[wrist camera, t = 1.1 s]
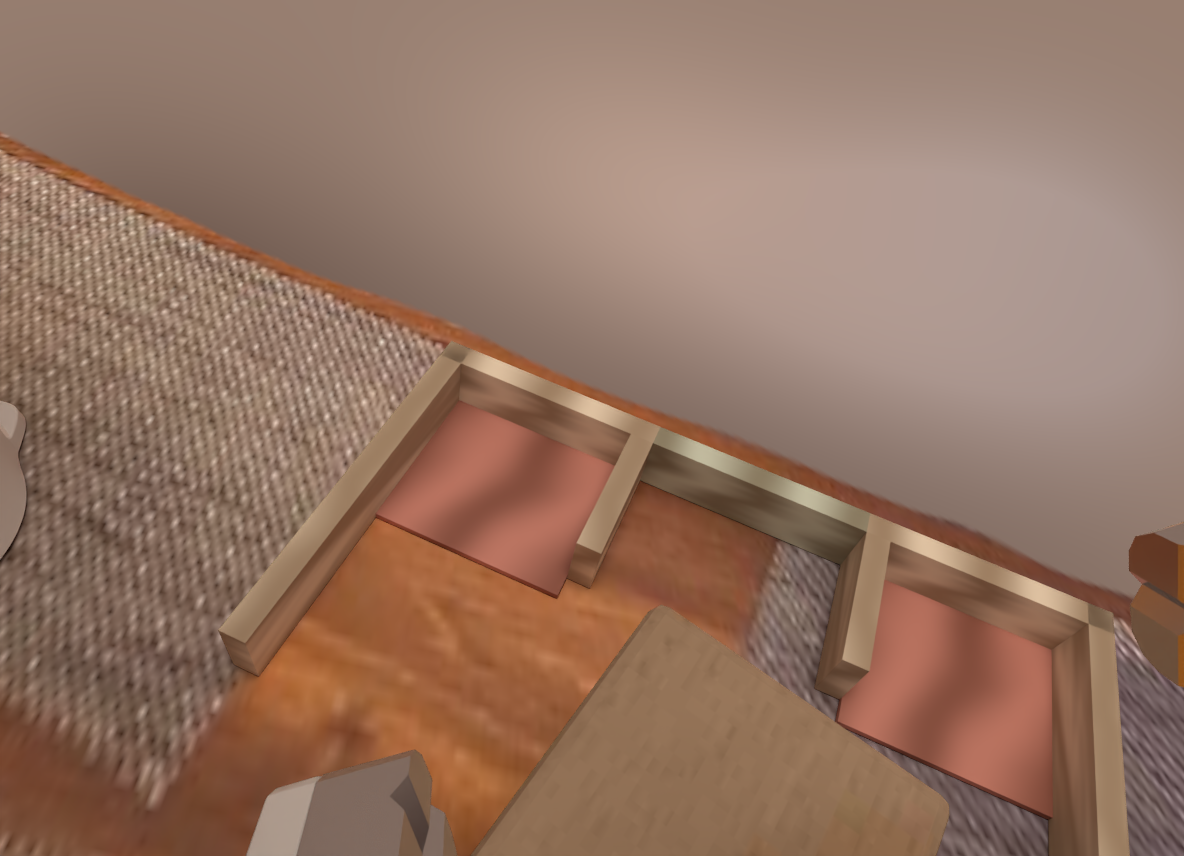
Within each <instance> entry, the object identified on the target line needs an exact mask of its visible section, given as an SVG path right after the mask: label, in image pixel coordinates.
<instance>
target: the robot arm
mask: <svg viewBox="0 0 1184 856" xmlns="http://www.w3.org/2000/svg"><path fill="white" fill-rule="evenodd" d="M25 428H26V420H25V418H24V416H23V415H22V414H21V412H20V411H19V410H18V409H17V408H16V407H15V406H14V405H12V404H10V403H7V402H4V401H0V559H1V558H2V556H3V555H4V554H5V552H6V551H7V549H8V548H9V546H10V545H11V543H12V541H13V540H14V538H15V536H16V534H17V532H18V529H19V527H20V525H21V522H22V519H23V516H24V512H25V507H26V484H25V479H24V476H23V473H22V470H21V467H20V463H19V458H18V451H19V449H20V446H21V443H22V440H23V436H24V433H25ZM1129 571H1130V572H1131V573H1132V574H1133V575H1134V576H1135V577H1136V578H1137V579H1138V580H1139V581H1140V582H1141V583H1142V585H1141V587H1140V589H1139V590H1138V592H1137V594H1136V596H1135V597H1134V599H1133V601H1132V603H1131V604H1130V613H1131V626H1132V632H1133V634H1134V636H1135V639H1136V641H1137V643H1138V645H1139V647H1140V649H1141V651H1142V653H1143V655H1144V656H1145V657H1146V658H1147V659H1148V660H1149V662H1150V663H1151V664H1152V665H1153V666H1154V667H1155V668H1156V669H1157V671H1158V672H1160V673H1161V674H1163V675H1164V676H1165V677H1167V678H1168V679H1169V680H1171V681H1172V682H1174V683H1175V684H1176V685H1178V686H1180V687H1184V522H1181V523H1178V524H1175V525H1171V526H1168V527H1165V528H1162V529H1158V530H1155V531H1152V532H1149V533H1145V534H1142V535H1139V536H1136V537H1135V538H1134V541H1133V543H1132V545H1131V547H1130V549H1129ZM431 791H432V778H431V776H430V773H429V771H428V768H427V766H426V764H425V761H424V759H423V756H422V755H421V754H420V753H419V752H418V751H416V750H411V751H408V752H404V753H401V754H397V755H393V756H390V757H386V758H382V759H379V760H375V761H371V762H368V763H364V764H360V765H357V766H353V767H349V768H346V769H342V770H338V771H335V772H331V773H327V774H324V775H323V776H322V777H321V776H317V777H314V778H310V779H307V780H303V781H300V782H297V783H293V784H290V785H286V786H283V787H280V788H276V789H275V790H274V791H273V792H272V793H271V794H269V795H268V796H267V798H266V800H265V803H264V805H263V808H262V811H261V814H260V817H259V820H258V822H257V825H256V828H255V831H254V834H253V837H252V839H251V842H250V845H249V848H248V851H247V854H246V856H457V852H456V848H455V844H454V840H453V836H452V832H451V829H450V826H449V824H448V821H447V818H446V815H445V813H444V812H442V811H440V810H439V809H437V808H435V807H434V806H432V805H431Z"/></svg>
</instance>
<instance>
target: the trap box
mask: <svg viewBox="0 0 1184 856" xmlns="http://www.w3.org/2000/svg"><path fill="white" fill-rule="evenodd" d="M639 481H643V482H645V483H648V484H650V485H652V486H655V487H657V488H659V489H662V490H664V491H666V492H669V493H671V494H674V495H676V496H678V497H681V498H683V499H685V500H688V501H690V502H693V503H695V504H697V505H700V506H702V507H704V508H707V509H709V510H711V511H714V512H716V513H719V514H721V515H723V516H726V517H728V518H730V519H733V520H735V521H737V522H740V523H742V524H745V525H747V526H749V527H752V528H754V529H756V530H759V531H761V532H764V533H766V534H768V535H771V536H773V537H775V538H778V539H780V540H782V541H785V542H787V543H790V544H792V545H794V546H797V547H799V548H801V549H804V550H806V551H808V552H811V553H813V554H816V555H818V556H820V557H823V558H825V559H827V560H830V561H832V562H835V563H837V564H839V565H840V570H839V574H838V579H837V584H836V589H835V593H834V598H833V603H832V607H831V612H830V617H829V622H828V626H827V631H826V636H825V640H824V645H823V650H822V655H821V659H820V664H819V669H818V673H817V678H816V683H815V688H814V689H817V690H819V691H821V692H823V693H826V694H828V695H830V696H832V697H835V698H837V699H839V705H838V710H837V715H836V721H835V722H836V723H837V724H839V725H840V726H842V727H843V728H845V729H848V730H850V731H852V732H854V733H857V734H859V735H861V736H863V737H865V738H868V739H870V740H872V741H874V742H877V743H879V744H881V745H883V746H885V747H888V748H890V749H892V750H894V751H897V752H899V753H901V754H903V755H905V756H908V757H910V758H912V759H914V760H917V761H919V762H921V763H923V764H925V765H928V766H930V767H932V768H934V769H937V770H939V771H941V772H943V773H945V774H948V775H950V776H952V777H954V778H957V779H959V780H961V781H963V782H965V783H968V784H970V785H972V786H974V787H977V788H979V789H981V790H983V791H985V792H988V793H990V794H992V795H994V796H997V797H999V798H1001V799H1003V800H1005V801H1008V802H1010V803H1012V804H1014V805H1017V806H1019V807H1021V808H1023V809H1025V810H1028V811H1030V812H1032V813H1034V814H1037V815H1039V816H1041V817H1043V818H1045V819H1048V833H1049V856H1130V854H1129V839H1128V825H1127V810H1126V796H1125V781H1124V767H1123V752H1122V738H1121V723H1120V709H1119V694H1118V680H1117V665H1116V651H1115V636H1114V622H1113V613H1111V612H1109V611H1106V610H1104V609H1101V608H1099V607H1096V606H1094V605H1092V604H1089V603H1087V602H1084V601H1082V600H1079V599H1077V598H1075V597H1072V596H1070V595H1067V594H1065V593H1062V592H1060V591H1058V590H1055V589H1053V588H1050V587H1048V586H1045V585H1043V584H1041V583H1038V582H1036V581H1033V580H1031V579H1028V578H1026V577H1024V576H1021V575H1019V574H1016V573H1014V572H1011V571H1009V570H1007V569H1004V568H1002V567H999V566H997V565H994V564H992V563H990V562H987V561H985V560H982V559H980V558H977V557H975V556H973V555H970V554H968V553H965V552H963V551H960V550H958V549H956V548H953V547H951V546H948V545H946V544H943V543H941V542H939V541H936V540H934V539H931V538H929V537H926V536H924V535H922V534H919V533H917V532H914V531H912V530H909V529H907V528H905V527H902V526H900V525H897V524H895V523H892V522H890V521H888V520H885V519H883V518H880V517H878V516H875V515H873V514H871V513H868V512H866V511H863V510H861V509H858V508H856V507H854V506H851V505H849V504H846V503H844V502H841V501H839V500H837V499H834V498H832V497H829V496H827V495H824V494H822V493H820V492H817V491H815V490H812V489H810V488H807V487H805V486H803V485H800V484H798V483H795V482H793V481H790V480H788V479H786V478H783V477H781V476H778V475H776V474H773V473H771V472H769V471H766V470H764V469H761V468H759V467H756V466H754V465H752V464H749V463H747V462H744V461H742V460H739V459H737V458H735V457H732V456H730V455H727V454H725V453H722V452H720V451H718V450H715V449H713V448H710V447H708V446H705V445H703V444H701V443H698V442H696V441H693V440H691V439H688V438H686V437H684V436H681V435H679V434H676V433H674V432H671V431H669V430H667V429H664V428H662V427H659V426H657V425H654V424H652V423H649V422H647V421H645V420H642V419H640V418H637V417H635V416H632V415H630V414H628V413H625V412H623V411H620V410H618V409H615V408H613V407H611V406H608V405H606V404H603V403H601V402H598V401H596V400H594V399H591V398H589V397H586V396H584V395H581V394H579V393H577V392H574V391H572V390H569V389H567V388H564V387H562V386H560V385H557V384H555V383H552V382H550V381H547V380H545V379H543V378H540V377H538V376H535V375H533V374H530V373H528V372H526V371H523V370H521V369H518V368H516V367H513V366H511V365H509V364H506V363H504V362H501V361H499V360H496V359H494V358H492V357H489V356H487V355H484V354H482V353H479V352H477V351H475V350H472V349H470V348H467V347H465V346H462V345H460V344H458V343H455V342H453V341H451V342H450V344H449V345H448V346H447V347H446V348H445V350H444V351H443V352H442V353H441V355H440V356H439V357H438V358H437V360H436V361H435V362H434V363H433V365H432V366H431V367H430V368H429V370H428V371H427V372H426V373H425V374H424V376H423V377H422V378H421V379H420V381H419V382H418V383H417V384H416V386H415V387H414V388H413V389H412V391H411V392H410V393H409V394H408V396H407V397H406V398H405V399H404V401H403V402H402V403H401V404H400V405H399V407H398V408H397V409H396V410H395V412H394V413H393V414H392V415H391V417H390V418H389V419H388V420H387V422H386V423H385V424H384V425H383V427H382V428H381V429H380V430H379V431H378V433H377V434H376V435H375V436H374V438H373V439H372V440H371V441H370V443H369V444H368V445H367V446H366V448H365V449H364V450H363V451H362V453H361V454H360V455H359V456H358V458H357V459H356V460H355V461H354V462H353V464H352V465H351V466H350V467H349V469H348V470H347V471H346V472H345V474H344V475H343V476H342V477H341V479H340V480H339V481H338V482H337V484H336V485H335V486H334V487H333V489H332V490H331V491H330V492H329V493H328V495H327V496H326V497H325V498H324V500H323V501H322V502H321V503H320V505H319V506H318V507H317V508H316V510H315V511H314V512H313V513H312V515H311V516H310V517H309V518H308V519H307V521H306V522H305V523H304V524H303V526H302V527H301V528H300V529H299V531H298V532H297V533H296V534H295V536H294V537H293V538H292V539H291V541H290V542H289V543H288V544H287V546H286V547H285V548H284V549H283V550H282V552H281V553H280V554H279V555H278V557H277V558H276V559H275V560H274V562H273V563H272V564H271V565H270V567H269V568H268V569H267V570H266V572H265V573H264V574H263V575H262V576H261V578H260V579H259V580H258V581H257V583H256V584H255V585H254V586H253V588H252V589H251V590H250V591H249V593H248V594H247V595H246V596H245V598H244V599H243V600H242V601H241V603H240V604H239V605H238V606H237V607H236V609H235V610H234V611H233V612H232V614H231V615H230V616H229V617H228V619H227V620H226V621H225V622H224V624H223V625H222V626H221V627H220V629H219V630H218V631H219V633H220V635H221V638H222V640H223V642H224V644H225V646H226V649H227V651H228V653H229V655H230V657H231V660H232V662H233V664H234V665H236V666H238V667H240V668H242V669H244V670H246V671H248V672H250V673H252V674H254V675H256V676H258V677H259V676H260V674H261V673H262V672H263V670H264V669H265V667H266V666H267V665H268V663H269V662H270V661H271V659H272V658H273V657H274V655H275V654H276V652H277V651H278V650H279V648H280V647H281V646H282V644H283V643H284V642H285V640H286V639H287V637H288V636H289V635H290V633H291V632H292V631H293V629H294V628H295V627H296V625H297V624H298V622H299V621H300V620H301V618H302V617H303V616H304V614H305V613H306V612H307V610H308V609H309V607H310V606H311V605H312V603H313V602H314V601H315V599H316V598H317V597H318V595H319V594H320V592H321V591H322V590H323V588H324V587H325V586H326V584H327V583H328V582H329V580H330V579H331V578H332V576H333V575H334V573H335V572H336V571H337V569H338V568H339V567H340V565H341V564H342V563H343V561H344V560H345V558H346V557H347V556H348V554H349V553H350V552H351V550H352V549H353V548H354V546H355V545H356V543H357V542H358V541H359V539H360V538H361V537H362V535H363V534H364V533H365V531H366V530H367V528H368V527H369V526H370V524H371V523H372V522H373V520H374V519H375V518H379V519H381V520H383V521H385V522H388V523H390V524H392V525H394V526H396V527H399V528H401V529H403V530H405V531H408V532H410V533H412V534H414V535H416V536H419V537H421V538H423V539H425V540H428V541H430V542H432V543H434V544H436V545H439V546H441V547H443V548H445V549H448V550H450V551H452V552H454V553H456V554H459V555H461V556H463V557H465V558H468V559H470V560H472V561H474V562H476V563H479V564H481V565H483V566H485V567H488V568H490V569H492V570H494V571H496V572H499V573H501V574H503V575H505V576H508V577H510V578H512V579H514V580H516V581H519V582H521V583H523V584H525V585H528V586H530V587H532V588H534V589H536V590H539V591H541V592H543V593H545V594H548V595H550V596H552V597H554V598H556V599H557V597H558V595H559V593H560V591H561V589H562V587H563V585H564V583H565V581H566V579H570V580H572V581H574V582H576V583H579V584H581V585H583V586H585V587H588V588H590V587H591V585H592V583H593V581H594V578H595V576H596V574H597V572H598V570H599V568H600V565H601V563H602V561H603V559H604V557H605V555H606V552H607V550H608V548H609V546H610V544H611V542H612V540H613V537H614V535H615V533H616V531H617V529H618V527H619V524H620V522H621V520H622V518H623V516H624V514H625V511H626V509H627V507H628V505H629V503H630V501H631V498H632V496H633V494H634V492H635V490H636V488H637V485H638V483H639Z"/></svg>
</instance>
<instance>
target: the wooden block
mask: <svg viewBox="0 0 1184 856" xmlns="http://www.w3.org/2000/svg"><path fill="white" fill-rule="evenodd" d="M948 818H949V804H948V803H947V802H946V801H945V799H944V798H943V797H942V796H941V795H940V794H938V793H937V792H936V791H934V790H933V789H931V788H930V787H928V786H927V785H925V784H924V783H923V782H921V781H920V780H918V779H917V778H915V777H914V776H912V775H911V774H910V773H908V772H907V771H905V770H904V769H902V768H901V767H899V766H898V765H897V764H895V763H894V762H892V761H891V760H889V759H888V758H886V757H885V756H884V755H882V754H881V753H879V752H878V751H876V750H875V749H873V748H872V747H871V746H869V745H868V744H866V743H865V742H863V741H862V740H860V739H859V738H858V737H856V736H855V735H853V734H852V733H850V732H849V731H847V730H846V729H845V728H843V727H842V726H840V725H839V724H837V723H836V722H834V721H833V720H832V719H830V718H829V717H827V716H826V715H824V714H823V713H821V712H820V711H819V710H817V709H816V708H814V707H813V706H811V705H810V704H808V703H807V702H806V701H804V700H803V699H801V698H800V697H798V696H797V695H795V694H794V693H793V692H791V691H790V690H788V689H787V688H785V687H784V686H782V685H781V684H780V683H778V682H777V681H775V680H774V679H772V678H771V677H769V676H768V675H767V674H765V673H764V672H762V671H761V670H759V669H758V668H756V667H755V666H754V665H752V664H751V663H749V662H748V661H746V660H745V659H743V658H742V657H741V656H739V655H738V654H736V653H735V652H733V651H732V650H730V649H729V648H728V647H726V646H725V645H723V644H722V643H720V642H719V641H717V640H716V639H715V638H713V637H712V636H710V635H709V634H707V633H706V632H704V631H703V630H702V629H700V628H699V627H697V626H696V625H694V624H693V623H691V622H690V621H689V620H687V619H686V618H684V617H683V616H681V615H680V614H678V613H677V612H676V611H674V610H673V609H671V608H669V607H666V606H663V605H660V606H658V607H656V608H655V609H653V610H651V611H649V612H648V613H647V614H646V616H645V617H644V619H643V620H642V621H641V623H640V624H639V625H638V627H637V628H636V630H635V631H634V632H633V634H632V635H631V636H630V638H629V639H628V641H627V642H626V643H625V645H624V646H623V647H622V649H621V650H620V651H619V653H618V654H617V656H616V657H615V658H614V660H613V661H612V662H611V664H610V665H609V667H608V668H607V669H606V671H605V672H604V673H603V675H602V676H601V678H600V679H599V680H598V682H597V683H596V684H595V686H594V687H593V689H592V690H591V691H590V693H589V694H588V695H587V697H586V698H585V699H584V701H583V702H582V704H581V705H580V706H579V708H578V709H577V710H576V712H575V713H574V715H573V716H572V717H571V719H570V720H569V721H568V723H567V724H566V726H565V727H564V728H563V730H562V731H561V732H560V734H559V735H558V736H557V738H556V739H555V741H554V742H553V743H552V745H551V746H550V747H549V749H548V750H547V752H546V753H545V754H544V756H543V757H542V758H541V760H540V761H539V763H538V764H537V765H536V767H535V768H534V769H533V771H532V772H531V774H530V775H529V776H528V778H527V779H526V780H525V782H524V783H523V784H522V786H521V787H520V789H519V790H518V791H517V793H516V794H515V795H514V797H513V798H512V800H511V801H510V802H509V804H508V805H507V806H506V808H505V809H504V811H503V812H502V813H501V815H500V816H499V817H498V819H497V820H496V822H495V823H494V824H493V826H492V827H491V828H490V830H489V831H488V832H487V834H486V835H485V837H484V838H483V839H482V841H481V842H480V843H479V845H478V846H477V848H476V849H475V850H474V852H473V853H472V854H471V856H936V855H937V852H938V849H939V846H940V843H941V840H942V837H943V834H944V831H945V828H946V825H947V822H948Z"/></svg>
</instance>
